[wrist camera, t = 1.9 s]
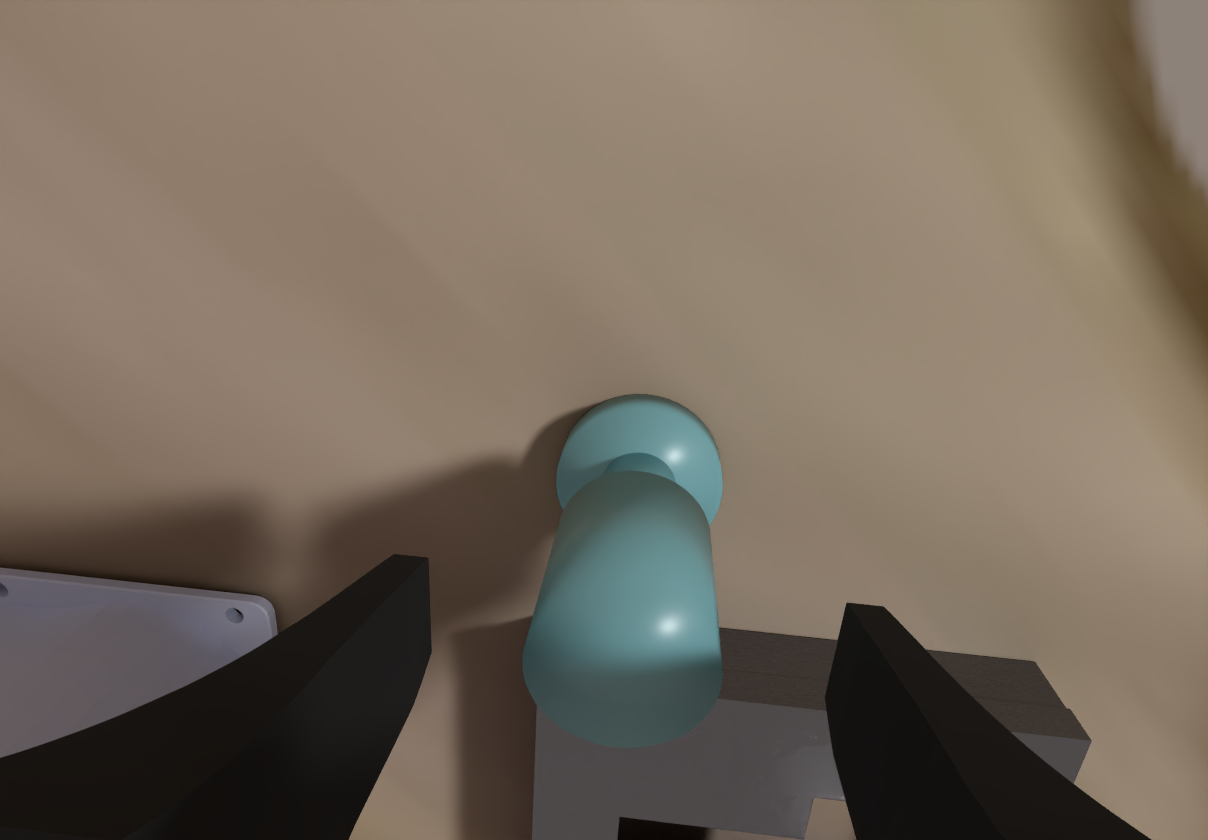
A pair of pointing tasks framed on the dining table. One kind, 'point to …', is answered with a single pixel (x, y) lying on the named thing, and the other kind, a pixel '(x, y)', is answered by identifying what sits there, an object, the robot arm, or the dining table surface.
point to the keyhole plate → (764, 746)
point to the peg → (630, 578)
